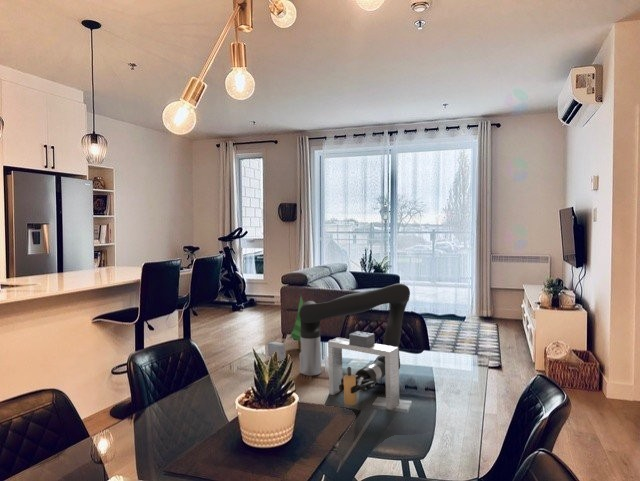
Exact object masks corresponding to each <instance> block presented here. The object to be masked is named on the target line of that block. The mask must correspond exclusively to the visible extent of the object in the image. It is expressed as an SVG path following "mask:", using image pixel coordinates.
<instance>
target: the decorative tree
mask: <svg viewBox="0 0 640 481" xmlns="http://www.w3.org/2000/svg"><path fill="white" fill-rule="evenodd" d="M303 303H304V300H303V297H302V296H300V298H299V303H298V308H297V314H296V319H295V323H294V327H293V328H292V331H291V333H290V336H289V339H294V340H296V341H298V346H297V347H298V350H299V351H301V336H300V329H301V319H300V316H299V311H300V308H301V306H302V304H303Z"/></svg>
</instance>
